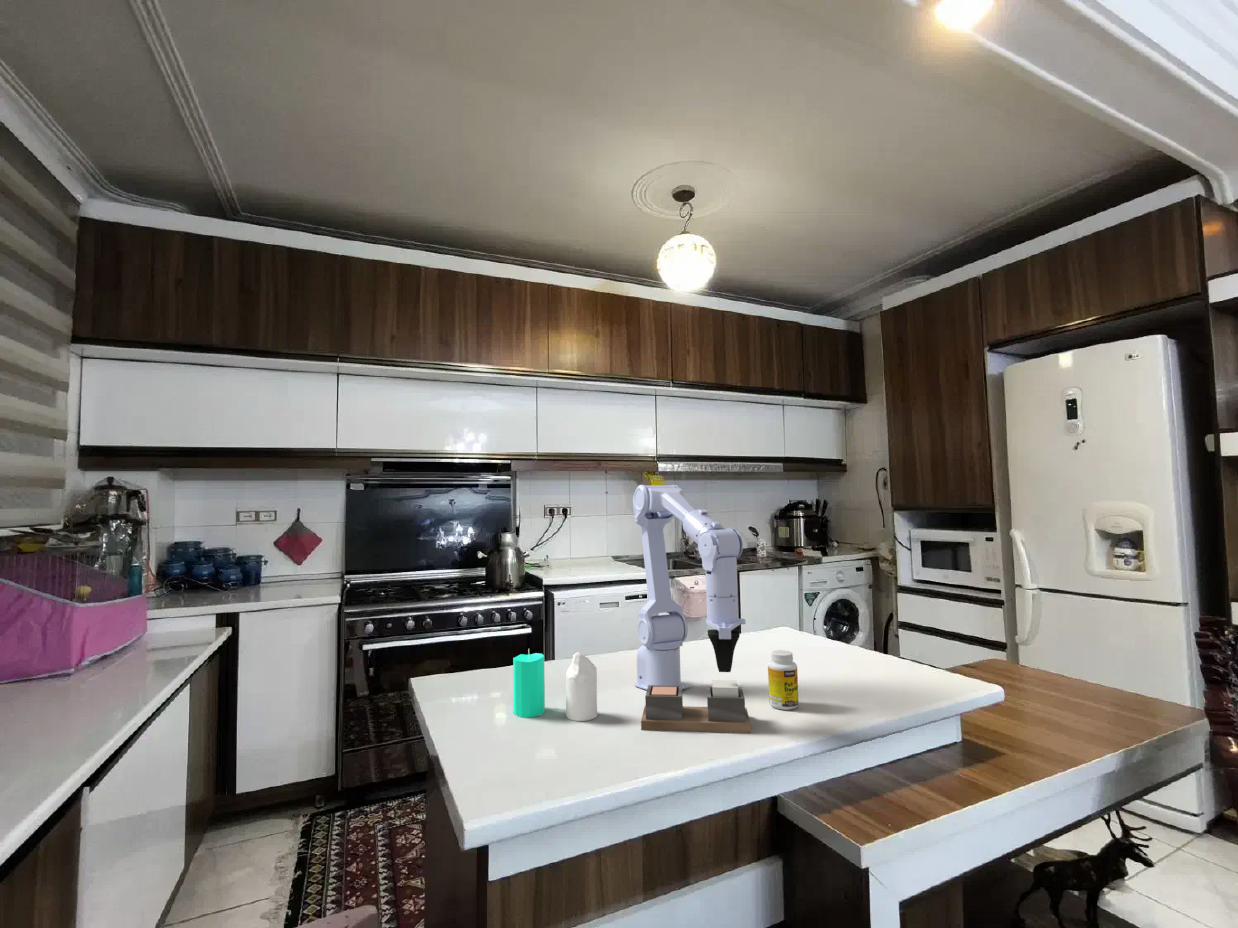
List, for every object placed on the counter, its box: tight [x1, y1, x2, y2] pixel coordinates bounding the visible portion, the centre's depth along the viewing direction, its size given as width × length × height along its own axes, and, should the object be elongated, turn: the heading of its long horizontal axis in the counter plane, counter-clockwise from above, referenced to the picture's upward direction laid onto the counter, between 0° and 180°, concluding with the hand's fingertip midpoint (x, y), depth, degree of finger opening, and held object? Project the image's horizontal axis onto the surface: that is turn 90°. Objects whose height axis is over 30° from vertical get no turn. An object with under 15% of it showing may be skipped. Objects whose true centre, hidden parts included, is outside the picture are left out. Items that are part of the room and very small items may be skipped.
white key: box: [711, 679, 739, 697], centre depth 103 cm, size 4×4×2 cm
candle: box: [512, 648, 546, 718], centre depth 111 cm, size 6×6×12 cm
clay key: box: [651, 687, 677, 696], centre depth 104 cm, size 4×4×2 cm
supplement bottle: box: [767, 649, 799, 711], centre depth 111 cm, size 6×6×10 cm
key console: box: [640, 685, 752, 734], centre depth 103 cm, size 8×19×6 cm, turn 82°
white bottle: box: [565, 651, 598, 722], centre depth 108 cm, size 6×12×6 cm
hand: (724, 671), depth 103 cm, fingers closed
